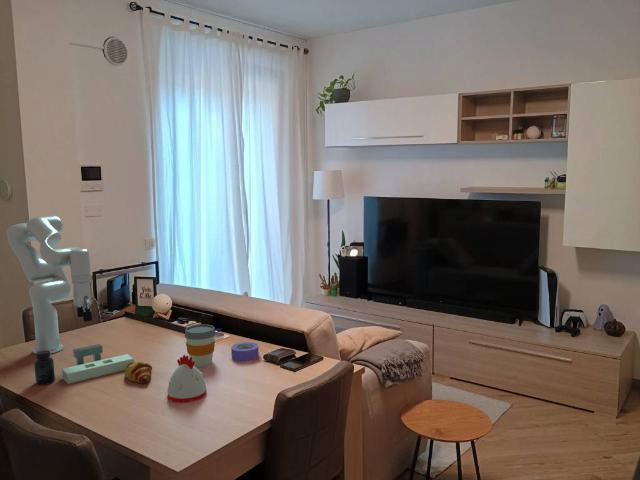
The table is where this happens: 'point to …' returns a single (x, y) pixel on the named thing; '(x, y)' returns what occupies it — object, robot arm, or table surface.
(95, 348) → the clip
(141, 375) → the croissant
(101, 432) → the table surface
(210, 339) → the reusable coffee cup
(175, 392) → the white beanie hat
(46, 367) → the supplement bottle
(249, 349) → the tape roll
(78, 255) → the robot arm
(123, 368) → the rail
